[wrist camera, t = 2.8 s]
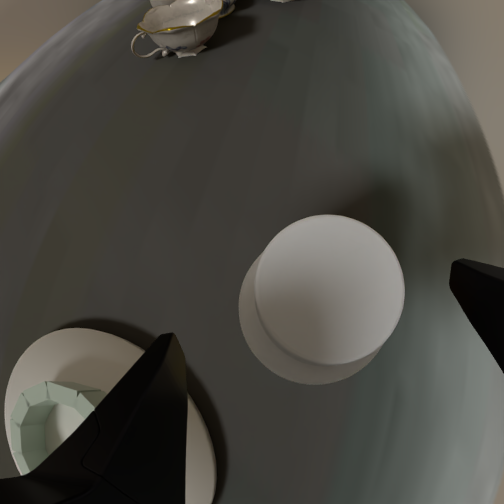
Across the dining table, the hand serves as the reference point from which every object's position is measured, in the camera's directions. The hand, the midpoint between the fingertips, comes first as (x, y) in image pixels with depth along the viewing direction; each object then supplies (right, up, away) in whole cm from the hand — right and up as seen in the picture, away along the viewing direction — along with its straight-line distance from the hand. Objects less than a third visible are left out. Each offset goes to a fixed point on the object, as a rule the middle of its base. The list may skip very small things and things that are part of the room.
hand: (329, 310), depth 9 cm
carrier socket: (-12, -11, +6) cm, 17 cm away
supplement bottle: (0, -3, +8) cm, 9 cm away
